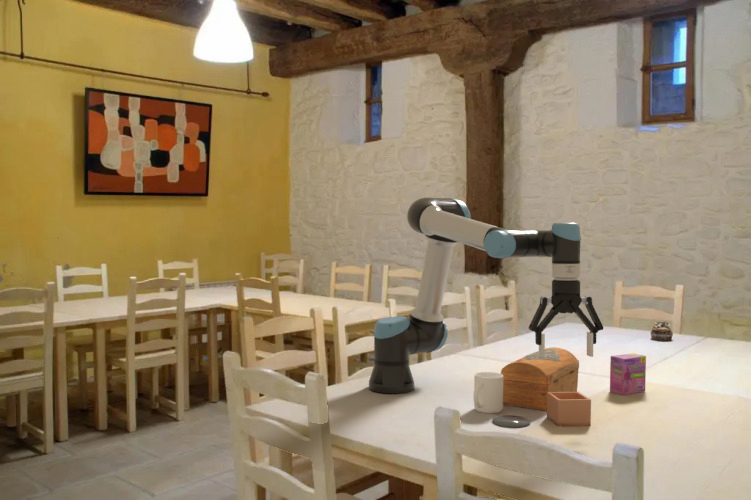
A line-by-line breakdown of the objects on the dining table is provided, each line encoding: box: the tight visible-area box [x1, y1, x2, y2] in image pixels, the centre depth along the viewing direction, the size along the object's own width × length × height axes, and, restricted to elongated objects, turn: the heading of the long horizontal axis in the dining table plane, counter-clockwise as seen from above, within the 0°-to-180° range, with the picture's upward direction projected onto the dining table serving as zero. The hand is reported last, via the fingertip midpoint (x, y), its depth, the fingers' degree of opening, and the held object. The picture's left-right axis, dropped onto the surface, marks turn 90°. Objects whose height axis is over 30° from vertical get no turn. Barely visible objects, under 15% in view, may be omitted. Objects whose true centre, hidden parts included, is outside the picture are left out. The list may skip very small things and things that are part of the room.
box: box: [609, 352, 647, 396], centre depth 223 cm, size 10×6×12 cm, turn 117°
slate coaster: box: [492, 414, 531, 429], centre depth 187 cm, size 10×10×1 cm
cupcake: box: [650, 321, 674, 342], centre depth 317 cm, size 10×10×10 cm
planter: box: [546, 391, 592, 427], centre depth 188 cm, size 9×9×7 cm
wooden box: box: [500, 347, 580, 412], centre depth 215 cm, size 30×16×14 cm, turn 146°
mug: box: [473, 371, 504, 414], centre depth 198 cm, size 12×8×10 cm
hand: (565, 356), depth 188 cm, fingers open, 13 cm apart
